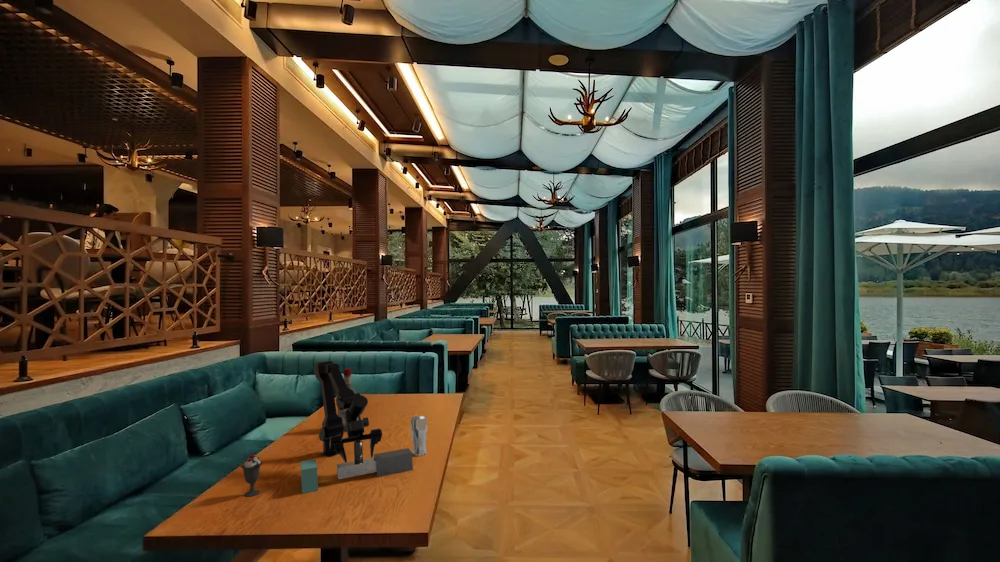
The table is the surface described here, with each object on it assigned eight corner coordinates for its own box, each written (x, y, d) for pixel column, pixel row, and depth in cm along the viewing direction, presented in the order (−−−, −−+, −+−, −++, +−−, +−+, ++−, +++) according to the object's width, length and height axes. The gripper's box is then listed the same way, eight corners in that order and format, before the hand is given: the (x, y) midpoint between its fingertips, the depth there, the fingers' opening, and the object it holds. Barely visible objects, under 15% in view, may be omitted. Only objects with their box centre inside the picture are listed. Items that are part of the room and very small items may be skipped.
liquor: (354, 430, 229) (353, 370, 230) (336, 431, 229) (334, 370, 230) (360, 425, 238) (359, 367, 239) (343, 426, 238) (341, 367, 239)
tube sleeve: (409, 464, 182) (408, 448, 182) (412, 469, 176) (412, 452, 177) (374, 471, 176) (373, 454, 176) (377, 476, 171) (376, 459, 171)
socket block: (316, 480, 169) (315, 458, 169) (317, 490, 161) (317, 467, 161) (301, 483, 167) (300, 461, 167) (302, 493, 159) (301, 470, 159)
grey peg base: (404, 462, 180) (403, 432, 180) (407, 466, 177) (406, 435, 177) (337, 475, 170) (336, 443, 170) (338, 479, 166) (337, 447, 166)
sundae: (248, 499, 155) (247, 454, 156) (237, 495, 159) (236, 451, 159) (267, 491, 161) (266, 448, 161) (256, 488, 164) (255, 445, 165)
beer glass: (424, 456, 190) (423, 420, 190) (408, 456, 191) (407, 419, 192) (430, 450, 197) (429, 415, 197) (415, 450, 198) (414, 415, 199)
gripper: (329, 414, 171) (333, 453, 161) (380, 407, 179) (387, 444, 169) (327, 430, 178) (331, 469, 168) (377, 422, 186) (383, 459, 176)
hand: (359, 459), depth 170 cm, fingers open, 9 cm apart
